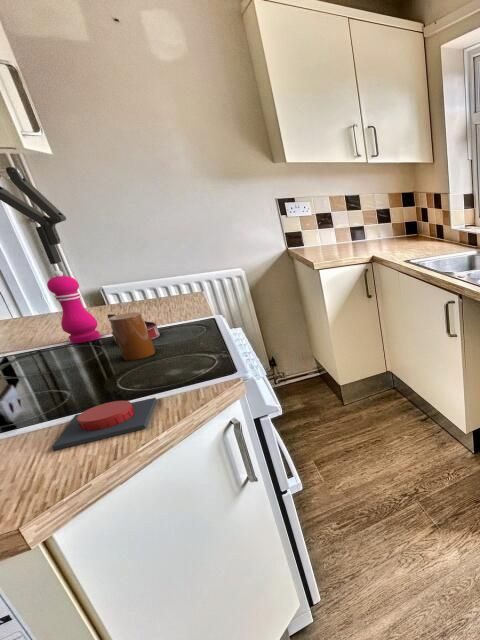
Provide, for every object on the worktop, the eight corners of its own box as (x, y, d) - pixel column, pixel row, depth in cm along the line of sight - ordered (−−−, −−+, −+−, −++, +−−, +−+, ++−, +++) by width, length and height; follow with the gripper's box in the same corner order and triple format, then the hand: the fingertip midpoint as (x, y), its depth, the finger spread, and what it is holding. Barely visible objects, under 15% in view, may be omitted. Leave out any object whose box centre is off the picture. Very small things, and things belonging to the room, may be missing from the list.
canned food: (123, 354, 121) (108, 323, 121) (165, 342, 127) (151, 311, 126) (114, 347, 112) (97, 313, 111) (160, 334, 118) (144, 301, 117)
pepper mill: (106, 338, 122) (78, 269, 114) (72, 346, 116) (41, 274, 109) (98, 333, 125) (71, 267, 118) (65, 341, 120) (34, 271, 113)
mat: (53, 450, 69) (51, 446, 69) (76, 418, 79) (75, 414, 79) (145, 428, 75) (144, 424, 75) (157, 400, 85) (155, 397, 84)
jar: (120, 362, 104) (104, 321, 100) (126, 354, 109) (111, 315, 105) (153, 356, 107) (138, 316, 103) (157, 348, 112) (143, 310, 108)
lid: (70, 427, 74) (66, 418, 74) (118, 406, 81) (114, 398, 80) (98, 433, 72) (94, 424, 72) (144, 412, 79) (141, 403, 78)
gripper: (-207, 128, 58) (-122, 279, 66) (42, 135, 70) (90, 263, 78) (-164, 133, 64) (-90, 270, 72) (59, 138, 76) (102, 256, 84)
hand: (3, 267), depth 75 cm, fingers open, 13 cm apart
